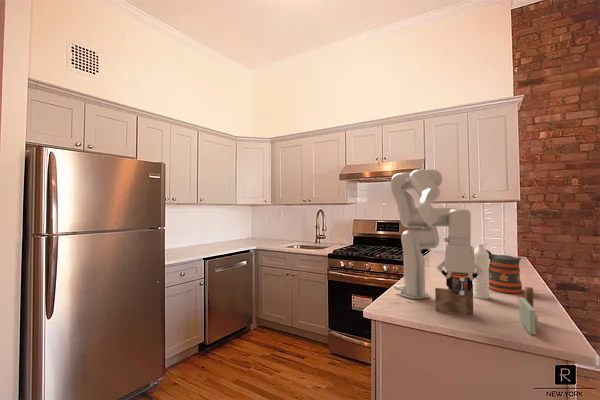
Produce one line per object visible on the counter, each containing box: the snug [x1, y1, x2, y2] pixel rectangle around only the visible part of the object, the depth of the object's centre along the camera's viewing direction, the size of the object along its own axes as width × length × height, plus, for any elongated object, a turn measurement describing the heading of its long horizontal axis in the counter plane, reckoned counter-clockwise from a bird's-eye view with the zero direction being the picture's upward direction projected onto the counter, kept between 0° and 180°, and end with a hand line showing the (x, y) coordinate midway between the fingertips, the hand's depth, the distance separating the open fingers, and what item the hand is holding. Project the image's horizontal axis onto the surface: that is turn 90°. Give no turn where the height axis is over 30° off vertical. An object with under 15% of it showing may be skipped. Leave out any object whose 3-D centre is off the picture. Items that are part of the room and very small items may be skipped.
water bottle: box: [472, 242, 490, 300], centre depth 147 cm, size 9×6×25 cm
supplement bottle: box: [450, 272, 468, 298], centre depth 118 cm, size 6×6×11 cm
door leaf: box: [518, 297, 539, 335], centre depth 111 cm, size 15×3×8 cm, turn 155°
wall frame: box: [434, 283, 534, 316], centre depth 123 cm, size 34×3×12 cm, turn 71°
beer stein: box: [486, 249, 523, 295], centre depth 159 cm, size 19×15×20 cm
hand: (459, 288), depth 118 cm, fingers closed on supplement bottle, 6 cm apart
